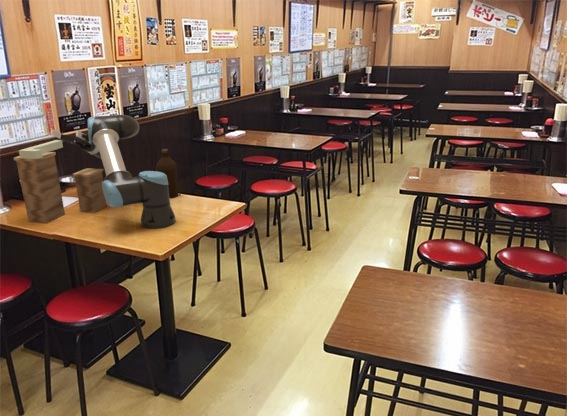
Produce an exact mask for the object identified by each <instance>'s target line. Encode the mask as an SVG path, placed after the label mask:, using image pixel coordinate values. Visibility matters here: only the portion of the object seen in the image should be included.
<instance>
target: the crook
mask: <svg viewBox="0 0 567 416" xmlns="http://www.w3.org/2000/svg"><path fill="white" fill-rule="evenodd" d="M63 145H64V144H63V141H62V140H58V139H54V140H51V141H48V142H44V143H40V144H38V145H37V144H36V145H34V146H29V147H26V148H23V149H20V150H18V154H19V156H20V158H26V159H39V158H42V157H43V156H42V154H43V153H47V152H54V151H55V150H59V149H62V148H64V146H63Z"/></svg>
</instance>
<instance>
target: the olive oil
mask: <svg viewBox="0 0 567 416" xmlns="http://www.w3.org/2000/svg"><path fill="white" fill-rule="evenodd" d="M155 171H157V172H162V173H164V174H165V175H166V176H167V180H168V189H169V199H175V198H176V197H178V196H179V188H178V187H179V186H178V167H177V164H176V162H175V161H174V160H173V159H172V158H171V157H170V156H169V149H168V148H163V149H161V158H160V159H159V160H158V162H157V163H156V167H155Z"/></svg>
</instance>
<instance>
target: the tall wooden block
mask: <svg viewBox="0 0 567 416" xmlns="http://www.w3.org/2000/svg"><path fill="white" fill-rule="evenodd" d="M56 155H57V153H56V151H50V152H47V153H43V154H42V156H43V157H42V158H39V159H26V158H20V155H18V156H15V157H13V161H15V162H16V166H17V170H18V171H17V172H18V178H19V181H20V187H21V191H22V196H23V200H24V205H25V210H26V214H27V219H28V222H29V223H37V224H38V223H42V224H49V223H51V222H53V221H55V220H57V219H58V218H60V217H62V216H65V215H66V214H65V213H66V212H65V207H64V201H63V196H62V190H61V185H60V184H61V183H60V179H59V175H58V174H59V173H58V168H57V162H56V157H55V156H56Z"/></svg>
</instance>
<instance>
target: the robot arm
mask: <svg viewBox="0 0 567 416" xmlns="http://www.w3.org/2000/svg"><path fill="white" fill-rule="evenodd" d="M87 132H88V133H86V134H85V133H83V132H81V131H80V130H76V133H75V136H71V135H67V134H62V133H61V132H59V131H58V130H55V129H54V128H51V130H50V135H51V136H53V137H55V139H54V140H62V142H65V143H69V144H71V145H77V146H78V147H79V148H80V149H81V150H82V151H84V152H87V154H88V153H89V154H90V156H91V155H92V156H95V157H97V158H98V159H101V161H102V165H103V170H104V172H105V178H104V179H103V182H102V190H103V193H104V197H105V200H106V203H107V206H109V207H111V208H117V207H118V208H120V207H121V208H122V207H126V206H131V205H132V206H133V205H138V204H139V205H140V204H142V211H141V216H140V225H141V226H142V227H143V228H147V229H161V228H166V227H169V226H172V225H173V224H175V223H176V215H175V213H174V211H173V208H172V206H171V201H170V199H171V198H169V189H168V180H167V176H166V175H165V174H164V173H162V172H157V171H156V170H155V171H154V170H143V171H140V172H139V174H138V176H133V175H132V173H130V172H129V171H127V169H126V166H125V162H124V160H123V156H122V152H121V150H120V147H119V144H118V142H119V140H125V139H130V138H132V137H135V136H136V135H138V133H139V132H140V124H139V122H138V120H137V119H136V118H134V117H133V116H130V115H127V114H115V115H112V114H110V115H96V116H91V117H88V119H87Z"/></svg>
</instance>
